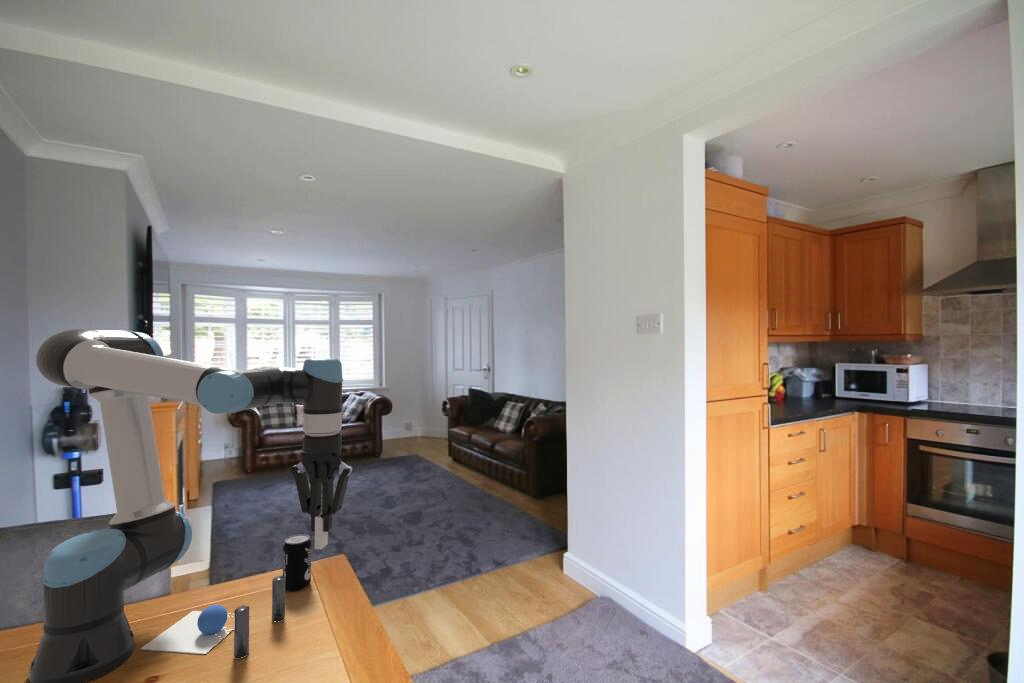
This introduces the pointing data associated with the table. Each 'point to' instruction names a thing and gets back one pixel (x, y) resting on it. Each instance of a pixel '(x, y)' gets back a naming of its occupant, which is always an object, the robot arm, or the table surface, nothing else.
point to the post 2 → (278, 598)
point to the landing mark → (186, 637)
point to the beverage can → (297, 562)
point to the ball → (212, 619)
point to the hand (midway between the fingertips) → (321, 546)
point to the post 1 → (241, 631)
